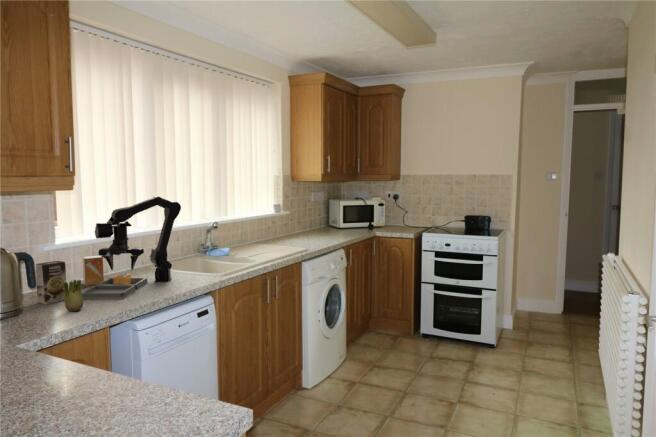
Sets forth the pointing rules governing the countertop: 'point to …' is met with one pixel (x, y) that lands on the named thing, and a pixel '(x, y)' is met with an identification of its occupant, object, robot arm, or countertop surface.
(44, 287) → the coffee box
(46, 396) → the countertop surface
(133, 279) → the case
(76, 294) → the fennel bulb
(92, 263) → the small box
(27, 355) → the countertop surface
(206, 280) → the countertop surface
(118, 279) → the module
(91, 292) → the case lid
